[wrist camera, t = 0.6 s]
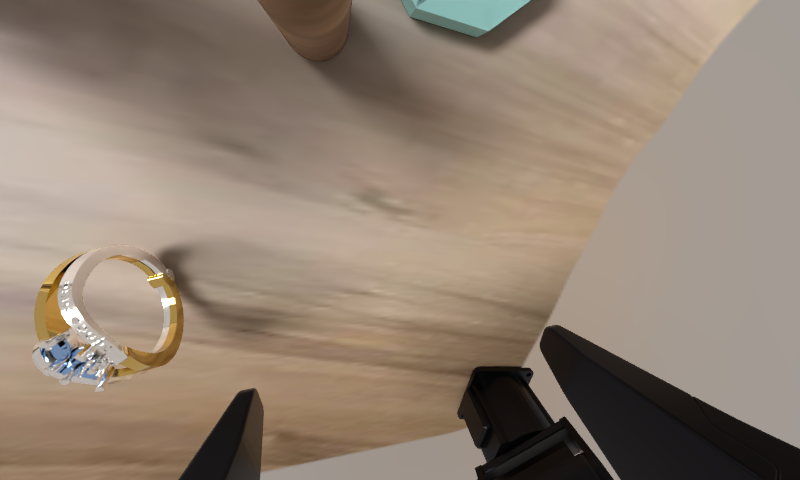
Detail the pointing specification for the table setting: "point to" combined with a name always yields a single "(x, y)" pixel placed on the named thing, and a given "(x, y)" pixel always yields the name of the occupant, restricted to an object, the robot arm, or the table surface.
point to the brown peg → (312, 25)
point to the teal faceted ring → (463, 13)
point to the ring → (91, 345)
